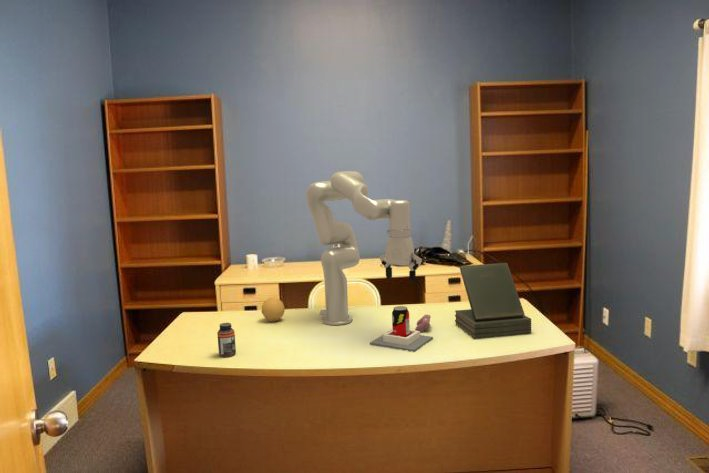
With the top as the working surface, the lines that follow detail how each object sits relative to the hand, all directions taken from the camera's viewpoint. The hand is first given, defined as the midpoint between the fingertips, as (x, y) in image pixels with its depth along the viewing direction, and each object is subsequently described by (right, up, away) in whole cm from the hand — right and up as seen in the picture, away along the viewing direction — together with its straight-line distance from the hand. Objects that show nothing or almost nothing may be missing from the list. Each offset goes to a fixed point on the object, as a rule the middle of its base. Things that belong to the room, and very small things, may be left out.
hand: (400, 279), depth 194 cm
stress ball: (-52, -21, +34) cm, 66 cm away
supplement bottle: (-62, -26, -8) cm, 68 cm away
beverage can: (0, -22, 0) cm, 22 cm away
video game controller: (+10, -21, +14) cm, 27 cm away
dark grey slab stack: (+37, -21, +11) cm, 44 cm away
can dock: (0, -23, -1) cm, 23 cm away
